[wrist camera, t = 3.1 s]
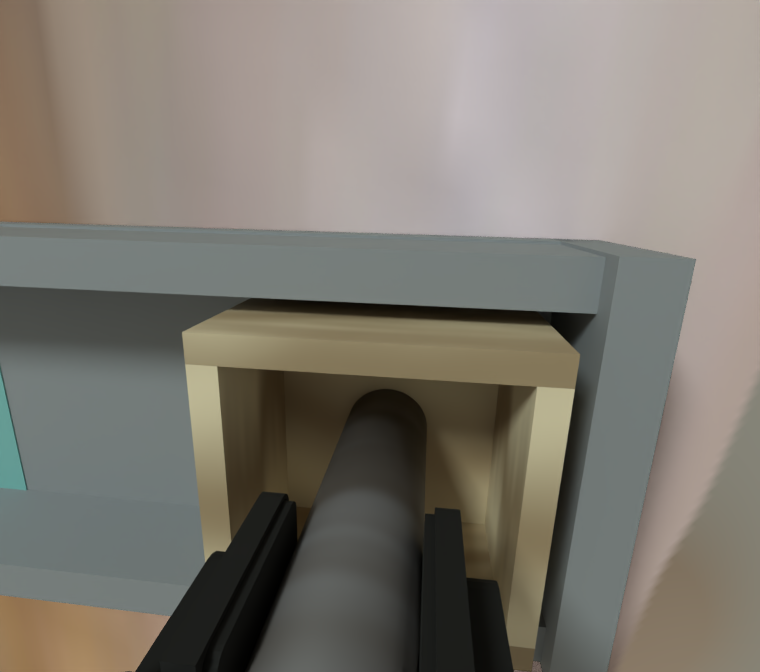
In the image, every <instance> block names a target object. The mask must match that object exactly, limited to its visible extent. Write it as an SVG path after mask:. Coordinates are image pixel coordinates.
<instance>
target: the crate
mask: <svg viewBox="0 0 760 672" xmlns="http://www.w3.org/2000/svg"><path fill="white" fill-rule="evenodd" d="M182 338H183V348H184V358H185V368H186V378H187V387H188V397H189V407H190V417H191V427H192V437H193V447H194V457H195V467H196V477H197V487H198V497H199V507H200V516H201V526H202V536H203V546H204V556H205V562H206V561H207V559H208V558H209V557H210V555H211V554H212V553H213V552H215V551H224V552H225V551H226V550H227V548H228V546H229V545H230V543H231V541H232V540H233V538H234V536H235V535H236V533H237V531H238V530H239V528H240V526H241V525H242V523H243V522H244V520H245V518H246V517H247V515H248V513H249V512H250V510H251V508H252V507H253V505H254V503H255V502H256V500H257V498H258V497H259V495H260V494H261V493H262V492H274V493H285V494H288V497H289V501H295V502H296V507H297V539H298V541H297V544H296V546H295V549H294V551H293V554H292V556H291V559H290V561H289V564H288V566H287V569H286V571H285V573H284V576H283V578H282V581H281V583H280V586H279V588H278V591H277V593H276V596H275V598H274V601H273V603H272V605H271V608H270V610H269V613H268V615H267V618H266V620H265V623H264V625H263V628H262V630H261V632H260V635H259V637H258V640H257V642H256V645H255V647H254V650H253V652H252V655H251V657H250V660H249V662H248V664H247V667H246V669H245V672H419V649H420V617H421V585H422V554H423V538H424V521H425V513H426V514H434V513H435V507H437V508H448V509H459V510H460V512H461V523H462V534H463V545H464V556H465V567H466V577H467V578H476V579H486V580H495V581H497V583H498V585H499V590H500V595H501V601H502V607H503V613H504V618H505V624H506V630H507V636H508V641H509V647H510V653H511V659H512V664H513V670H521V671H529V672H531V671H532V664H533V658H534V651H535V645H536V638H537V632H538V625H539V619H540V612H541V606H542V600H543V593H544V587H545V580H546V574H547V567H548V561H549V554H550V548H551V541H552V535H553V528H554V522H555V515H556V509H557V502H558V496H559V489H560V483H561V476H562V470H563V463H564V457H565V450H566V444H567V438H568V431H569V425H570V418H571V412H572V405H573V399H574V392H575V386H576V379H577V373H578V366H579V360H580V354H579V353H578V352H577V351H576V350H575V349H574V348H573V347H572V346H571V345H570V344H569V343H568V342H567V341H566V340H565V339H564V338H563V337H562V336H561V335H560V334H559V333H558V332H557V331H556V330H555V329H554V328H553V327H552V326H551V325H550V324H549V323H548V322H547V321H546V320H545V319H544V318H543V317H542V316H541V315H540V314H539V313H538V312H537V311H525V310H503V309H482V308H461V307H440V306H418V305H397V304H376V303H355V302H333V301H312V300H291V299H270V298H250V299H248V300H246V301H244V302H242V303H240V304H238V305H236V306H234V307H232V308H230V309H228V310H226V311H224V312H222V313H220V314H218V315H216V316H214V317H212V318H210V319H208V320H206V321H204V322H201V323H199V324H197V325H195V326H193V327H191V328H189V329H187V330H185V331H183V332H182Z"/></svg>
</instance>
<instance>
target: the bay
mask: <svg viewBox="0 0 760 672" xmlns="http://www.w3.org/2000/svg"><path fill="white" fill-rule="evenodd" d="M695 262H696V259H693V258H688V257H682V256H677V255H672V254H667V253H662V252H657V251H652V250H646V249H641V248H636V247H631V246H626V245H621V244H616V243H610V242H605V241H600V240H571V239H539V238H507V237H475V236H442V235H410V234H378V233H346V232H314V231H282V230H250V229H218V228H185V227H153V226H121V225H89V224H57V223H25V222H0V595H4V596H13V597H21V598H29V599H37V600H45V601H53V602H61V603H69V604H77V605H85V606H93V607H101V608H110V609H118V610H126V611H134V612H142V613H150V614H158V615H166V616H171V615H172V614H173V612H174V611H175V609H176V607H177V606H178V604H179V603H180V601H181V600H182V598H183V597H184V595H185V593H186V592H187V590H188V589H189V587H190V586H191V584H192V583H193V581H194V579H195V578H196V576H197V575H198V573H199V572H200V570H201V568H202V567H203V565H204V564H205V556H204V546H203V536H202V526H201V516H200V507H199V497H198V487H197V477H196V467H195V457H194V447H193V437H192V427H191V417H190V407H189V397H188V387H187V378H186V368H185V358H184V348H183V338H182V332H183V331H185V330H187V329H189V328H191V327H193V326H195V325H197V324H199V323H201V322H204V321H206V320H208V319H210V318H212V317H214V316H216V315H218V314H220V313H222V312H224V311H226V310H228V309H230V308H232V307H234V306H236V305H238V304H240V303H242V302H244V301H246V300H248V299H250V298H270V299H291V300H312V301H333V302H355V303H376V304H397V305H418V306H440V307H461V308H482V309H503V310H525V311H537V312H538V313H539V314H540V315H541V316H542V317H543V318H544V319H545V320H546V321H547V322H548V323H549V324H550V325H551V326H552V327H553V328H554V329H555V330H556V331H557V332H558V333H559V334H560V335H561V336H562V337H563V338H564V339H565V340H566V341H567V342H568V343H569V344H570V345H571V346H572V347H573V348H574V349H575V350H576V351H577V352H578V353H579V354H580V360H579V366H578V373H577V379H576V386H575V392H574V399H573V405H572V412H571V418H570V425H569V431H568V438H567V444H566V450H565V457H564V463H563V470H562V476H561V483H560V489H559V496H558V502H557V509H556V515H555V522H554V528H553V535H552V541H551V548H550V554H549V561H548V567H547V574H546V580H545V587H544V593H543V600H542V606H541V612H540V619H539V625H538V632H537V638H536V645H535V651H534V658H533V661H538V662H540V664H541V668H542V672H607V670H608V665H609V661H610V656H611V651H612V647H613V642H614V637H615V633H616V628H617V623H618V619H619V614H620V609H621V605H622V600H623V596H624V591H625V586H626V582H627V577H628V572H629V568H630V563H631V558H632V554H633V549H634V545H635V540H636V535H637V531H638V526H639V521H640V517H641V512H642V507H643V503H644V498H645V494H646V489H647V484H648V480H649V475H650V470H651V466H652V461H653V456H654V452H655V447H656V443H657V438H658V433H659V429H660V424H661V419H662V415H663V410H664V405H665V401H666V396H667V392H668V387H669V382H670V378H671V373H672V368H673V364H674V359H675V354H676V350H677V345H678V340H679V336H680V331H681V327H682V322H683V317H684V313H685V308H686V303H687V299H688V294H689V289H690V285H691V280H692V276H693V271H694V266H695Z"/></svg>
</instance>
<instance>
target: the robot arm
mask: <svg viewBox="0 0 760 672" xmlns="http://www.w3.org/2000/svg"><path fill="white" fill-rule="evenodd" d="M297 541H298V539H297V507H296V502H295V501H289V497H288V494H285V493H274V492H262V493H261V494H260V495H259V497H258V498H257V500H256V502H255V503H254V505H253V507H252V508H251V510H250V512H249V513H248V515H247V517H246V518H245V520H244V522H243V523H242V525H241V526H240V528H239V530H238V531H237V533H236V535H235V536H234V538H233V540H232V541H231V543H230V545H229V546H228V548H227V550H226V551H225V552H224V551H215V552H213V553H212V554H211V555H210V557H209V558H208V559H207V561H206V562H205V564H204V565H203V567H202V568H201V570H200V572H199V573H198V575H197V576H196V578H195V579H194V581H193V583H192V584H191V586H190V587H189V589H188V590H187V592H186V593H185V595H184V597H183V598H182V600H181V601H180V603H179V604H178V606H177V607H176V609H175V611H174V612H173V614H172V615H171V617H170V618H169V620H168V621H167V623H166V625H165V626H164V628H163V629H162V631H161V632H160V634H159V636H158V637H157V639H156V640H155V642H154V643H153V645H152V646H151V648H150V650H149V651H148V653H147V654H146V656H145V657H144V659H143V660H142V662H141V664H140V665H139V667H138V668H137V670H136V671H135V672H245V669H246V667H247V664H248V662H249V660H250V657H251V655H252V652H253V650H254V647H255V645H256V642H257V640H258V637H259V635H260V632H261V630H262V628H263V625H264V623H265V620H266V618H267V615H268V613H269V610H270V608H271V605H272V603H273V601H274V598H275V596H276V593H277V591H278V588H279V586H280V583H281V581H282V578H283V576H284V573H285V571H286V569H287V566H288V564H289V561H290V559H291V556H292V554H293V551H294V549H295V546H296V544H297ZM127 672H131V671H127ZM419 672H514V670H513V664H512V659H511V653H510V647H509V641H508V636H507V630H506V624H505V618H504V613H503V607H502V601H501V595H500V590H499V585H498V583H497V581H495V580H486V579H476V578H467V577H466V567H465V556H464V545H463V534H462V523H461V512H460V510H459V509H448V508H437V507H435V513H434V514H426V513H425V521H424V538H423V554H422V585H421V617H420V649H419Z"/></svg>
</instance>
